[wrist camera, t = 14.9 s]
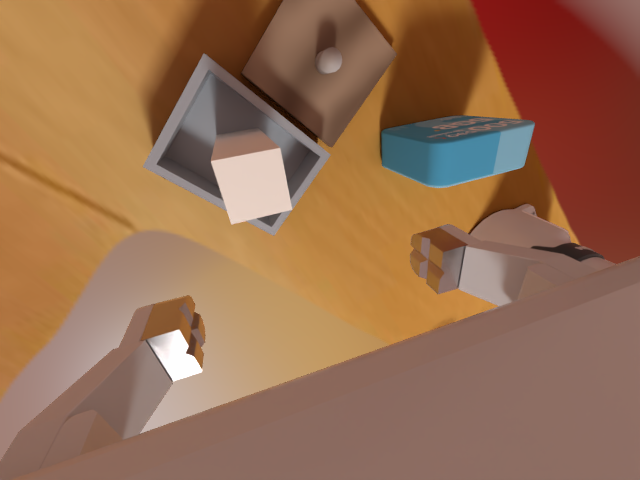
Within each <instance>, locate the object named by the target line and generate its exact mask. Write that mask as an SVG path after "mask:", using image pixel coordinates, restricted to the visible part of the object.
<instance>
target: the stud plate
mask: <svg viewBox="0 0 640 480" xmlns="http://www.w3.org/2000/svg"><path fill="white" fill-rule="evenodd" d="M396 55H397V53H396V52H395V51H394V50H393V48H392V47H391V46H390V45H389V43H388V42H387V41H386V39H385V38H384V37H383V36H382V34H381V33H380V32H379V31H378V29H377V28H376V27H375V25H374V24H373V23H372V22H371V20H370V19H369V18H368V17H367V15H366V14H365V13H364V12H363V10H362V9H361V8H360V6H359V5H358V4H357V3H356V1H355V0H283V1H282V3H281V5H280V7H279V8H278V10H277V12H276V14H275V15H274V17H273V19H272V21H271V22H270V24H269V26H268V27H267V29H266V31H265V33H264V34H263V36H262V38H261V40H260V41H259V43H258V45H257V46H256V48H255V50H254V52H253V53H252V55H251V57H250V59H249V60H248V62H247V64H246V66H245V67H244V69H243V71H242V72H241V75H243V76H244V77H245V78H246V79H248V80H249V81H250V82H251V83H252V84H254V85H255V86H256V87H257V88H258V89H260V90H261V91H262V92H263V93H265V94H266V95H267V96H268V97H269V98H271V99H272V100H273V101H274V102H276V103H277V104H278V105H279V106H280V107H282V108H283V109H284V110H285V111H286V112H288V113H289V114H290V115H291V116H293V117H294V118H295V119H296V120H297V121H299V122H300V123H301V124H302V125H303V126H305V127H306V128H307V129H308V130H310V131H311V132H312V133H313V134H314V135H316V136H317V137H318V138H319V139H320V140H322V141H323V142H324V143H325V144H327V145H328V146H330V147H333V145H334V144H335V142H336V141H337V140H338V138H339V137H340V135H341V134H342V132H343V131H344V130H345V128H346V127H347V125H348V124H349V122H350V121H351V120H352V118H353V117H354V115H355V114H356V112H357V111H358V109H359V108H360V107H361V105H362V104H363V102H364V101H365V99H366V98H367V97H368V95H369V94H370V92H371V91H372V89H373V88H374V87H375V85H376V84H377V82H378V81H379V79H380V78H381V77H382V75H383V74H384V72H385V71H386V69H387V68H388V66H389V65H390V64H391V62H392V61H393V59H394V58H395V56H396Z"/></svg>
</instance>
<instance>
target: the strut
mask: <svg viewBox="0 0 640 480" xmlns="http://www.w3.org/2000/svg"><path fill="white" fill-rule="evenodd" d="M211 164H212V167H213V170H214V173H215V176H216V179H217V182H218V185H219V188H220V191H221V194H222V197H223V200H224V203H225V206H226V209H227V213H228V216H229V219H230V222H231V224H235V223H239V222H244V221H248V220H252V219H256V218H260V217H264V216H268V215H273V214H277V213H281V212H285V211H289V210H292V206H291V200H290V195H289V190H288V185H287V180H286V175H285V170H284V164H283V159H282V154H281V149H280V147H279V146H278V145H277V144H275V143H274V142H273V141H272V140H271V139H270V138H269V137H268V136H266V135H265V134H264V133H263V132H262V131H261V130H260V129H259V128H254V129H248V130H242V131H237V132H231V133H225V134H219V135H216V140H215V144H214V148H213V153H212V157H211Z"/></svg>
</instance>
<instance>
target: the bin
mask: <svg viewBox="0 0 640 480" xmlns="http://www.w3.org/2000/svg"><path fill="white" fill-rule="evenodd" d="M254 128H259V129H260V130H261V131H262V132H263V133H264V134H265V135H266V136H268V137H269V138H270V139H271V140H272V141H273V142H274V143H275V144H277V145H278V146H279V147H280V149H281V154H282V159H283V164H284V170H285V175H286V180H287V185H288V190H289V195H290V200H291V206H292V209H293V208H294V206H295V205H296V204H297V202H298V201H299V199H300V198H301V196H302V195H303V194H304V192H305V191H306V189H307V188H308V186H309V185H310V184H311V182H312V181H313V179H314V178H315V176H316V175H317V174H318V172H319V171H320V169H321V168H322V166H323V165H324V164H325V162H326V161H327V159H328V158H329V156H330V154H329V153H328V152H326V151H325V150H324V149H323V148H321V147H320V146H319V145H318V144H316V143H315V142H314V141H313V140H311V139H310V138H309V137H308V136H307V135H305V134H304V133H303V132H302V131H300V130H299V129H298V128H297V127H295V126H294V125H293V124H292V123H290V122H289V121H288V120H287V119H285V118H284V117H283V116H282V115H280V114H279V113H278V112H277V111H275V110H274V109H273V108H272V107H271V106H269V105H268V104H267V103H266V102H264V101H263V100H262V99H261V98H259V97H258V96H257V95H256V94H254V93H253V92H252V91H251V90H249V89H248V88H247V87H246V86H244V85H243V84H242V83H241V82H239V81H238V80H237V79H236V78H235V77H233V76H232V75H231V74H230V73H228V72H227V71H226V70H225V69H223V68H222V67H221V66H220V65H218V64H217V63H216V62H215V61H213V60H212V59H211V58H210V57H208V56H207V55H206V54H205V53H204V54H203V56H202V58H201V60H200V61H199V63H198V65H197V67H196V69H195V71H194V73H193V74H192V76H191V78H190V80H189V82H188V84H187V86H186V87H185V89H184V91H183V93H182V95H181V97H180V99H179V100H178V102H177V104H176V106H175V108H174V110H173V112H172V113H171V115H170V117H169V119H168V121H167V123H166V125H165V126H164V128H163V130H162V132H161V134H160V136H159V138H158V139H157V141H156V143H155V145H154V147H153V149H152V151H151V152H150V154H149V156H148V158H147V160H146V162H145V164H144V165H143V167H144V168H146V169H148V170H150V171H152V172H154V173H156V174H157V175H159V176H161V177H163V178H165V179H167V180H169V181H171V182H173V183H175V184H176V185H178V186H180V187H182V188H184V189H186V190H188V191H190V192H192V193H194V194H195V195H197V196H199V197H201V198H203V199H205V200H207V201H209V202H211V203H212V204H214V205H216V206H218V207H220V208H222V209H224V210H226V211H227V209H226V206H225V203H224V200H223V197H222V194H221V191H220V188H219V185H218V182H217V179H216V176H215V173H214V170H213V167H212V164H211V157H212V153H213V148H214V144H215V140H216V135H219V134H225V133H231V132H237V131H242V130H248V129H254ZM291 211H292V210H289V211H285V212H281V213H277V214H273V215H268V216H264V217H260V218H256V219H252V220H248V221H247V222H249V223H250V224H252V225H254V226H256V227H258V228H260V229H262V230H264V231H266V232H267V233H269V234H271V235H273V236H274V235H275V233H276V232H277V231H278V229H279V228H280V226H281V225H282V223H283V222H284V221H285V219H286V218H287V216H288V215H289V214H290V212H291Z"/></svg>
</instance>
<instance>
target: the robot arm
mask: <svg viewBox="0 0 640 480" xmlns="http://www.w3.org/2000/svg"><path fill="white" fill-rule="evenodd" d="M411 245H412V247H413V248H414V249H413V251H412V252H411V254H410V263H411V266H412V269H413V270H414V272H415V273H416V274H417V275H418V276H419V277H422V278H425V279H426V284H428V285H429V286H430V287H431V288H432V289H433V290H434V291H435V292H436V293H437V294H440V293H444V292H447V291H451V290H454V289H457V288H459V290H462V291H464V292H466V293H469V294H471V295H474V296H476V297H478V298H481V299H483V300H486V301H488V302H490V303H493V304H495V305H498V306H499V307H496V308H493V309H490V310H487V311H485V312H482V313H479V314H476V315H473V316H471V317H468V318H465V319H462V320H459V321H456V322H454V323H451V324H448V325H445V326H442V327H439V328H437V329H434V330H431V331H428V332H425V333H422V334H420V335H417V336H414V337H411V338H408V339H405V340H403V341H400V342H397V343H394V344H391V345H389V346H386V347H383V348H380V349H377V350H375V351H372V352H369V353H366V354H363V355H361V356H358V357H355V358H352V359H349V360H346V361H344V362H341V363H338V364H335V365H332V366H330V367H327V368H324V369H321V370H318V371H316V372H313V373H310V374H307V375H305V376H301V377H299V378H296V379H293V380H291V381H287V382H285V383H282V384H279V385H276V386H273V387H271V388H268V389H265V390H262V391H259V392H257V393H254V394H251V395H248V396H245V397H242V398H240V399H237V400H234V401H231V402H228V403H226V404H223V405H220V406H217V407H214V408H211V409H209V410H206V411H203V412H200V413H197V414H195V415H192V416H189V417H186V418H183V419H181V420H178V421H175V422H172V423H169V424H166V425H164V426H161V427H158V428H155V429H152V430H150V431H147V432H144V433H141V434H140V432H141V431H142V429H143V428H144V426H145V425H146V423H147V422H148V420H149V419H150V417H151V416H152V414H153V412H154V411H155V410H156V408H157V406H158V405H159V403H160V402H161V400H162V399H163V397H164V395H165V394H166V393H167V391H168V390H169V388H170V387H171V385H172V384H173V383H172V382H173V381H176V380H179V379H182V378H185V377H187V376H190V375H193V374H196V373H199V372H202V364H203V356H204V353H203V351H202V349H201V347H202V345H203V344H204V343H205V327H204V324H203V320H202V318H201V316H200V315H199V314H197V313H196V312H194V309H195V303H194V301H193V299H192V297H190V296H189V295H187V296H183V297H179V298H175V299H172V300H167V301H163V302H159V303H156V304H152V305H148V306H144V307H141V308H139V309H137V310H136V311H135V313H134V315H133V317H132V319H131V322H130V324H129V326H128V328H127V330H126V333H125V335H124V337H123V339H122V341H121V344H120V346H119V348H117V349H113V350H112V351H111V352H109V353H108V354H107V355H106V356H105V357H104V358H103V359H102V360H100V361H99V362H98V363H97V364H96V365H95V366H94V367H92V368H91V369H90V370H89V371H88V372H87V373H85V374H84V375H83V376H82V377H81V378H80V379H79V380H78V381H76V382H75V383H74V384H73V385H72V386H71V387H69V388H68V389H67V390H66V391H65V392H64V393H63V394H62V395H60V396H59V397H58V398H57V399H56V400H55V401H54V402H52V403H51V404H50V405H49V406H48V407H47V408H46V409H44V410H43V411H42V412H41V413H40V414H39V415H38V416H36V417H35V418H34V419H33V420H32V421H31V422H30V423H28V424H27V425H26V426H25V427H24V428H23V429H22V430H20V431H19V432H18V434H17V436H16V437H15V439H14V440H13V442H12V443H11V445H10V447H9V448H8V450H7V451H6V453H5V454H4V456H3V457H2V459H1V461H0V480H640V256H639V257H637V258H634V259H631V260H628V261H625V262H622V263H620V264H617V265H616V264H614V263H611V262H609V261H606V260H605V259H604V257H603V256H602V255H600V254H598V253H596V252H594V251H593V250H591V249H589V248H587V247H583V246H580V245H578V244H575V243H571V240H570V236H569V234H568V231H567V230H565V229H564V228H561V227H559V226H557V225H555V224H553V223H550V222H548V221H546V220H544V219H541V218H539V217H537V215H536V212H535V209H534V207H533V206H532V205H530V204H524V205H522V206H520V207H518V208H516V209H508V210H502V211H499V212H496V213H494V214H492V215H490V216H489V217H487V218H486V219H484V220H483V221H482V222H481V223H480V224H479V225H478V226H477V227H476V228H475V229H474V230H473V231H472V233H471V234H470V235H469V234H467V233H466V232H464V231H462V230H460V229H458V228H457V227H455V226H453V225H449V224H447V225H443V226H440V227H437V228H434V229H431V230H428V231H424V232H421V233H417V234H414V235H413V236H412V238H411Z"/></svg>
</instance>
